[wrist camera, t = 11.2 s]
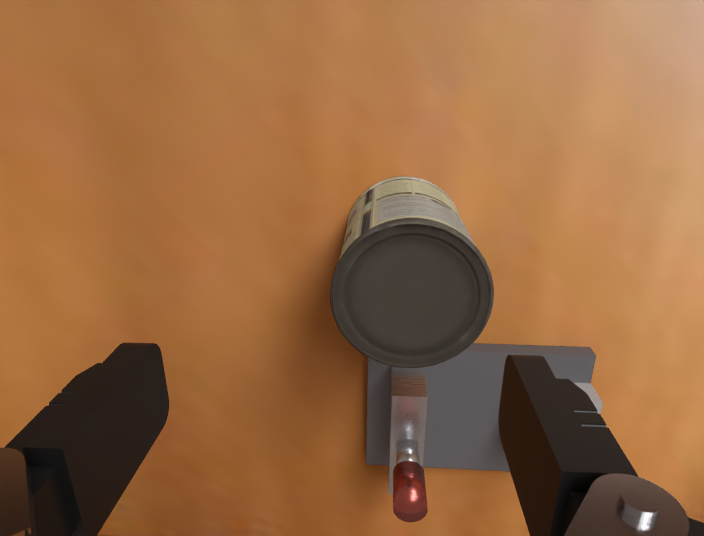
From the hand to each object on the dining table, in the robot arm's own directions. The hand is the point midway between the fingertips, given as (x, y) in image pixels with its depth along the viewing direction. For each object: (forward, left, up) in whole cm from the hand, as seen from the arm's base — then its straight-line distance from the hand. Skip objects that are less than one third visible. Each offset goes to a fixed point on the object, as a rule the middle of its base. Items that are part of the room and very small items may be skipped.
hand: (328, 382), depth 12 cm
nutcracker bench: (-11, +25, -33) cm, 43 cm away
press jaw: (-4, +25, -31) cm, 40 cm away
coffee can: (-3, +7, -34) cm, 34 cm away
